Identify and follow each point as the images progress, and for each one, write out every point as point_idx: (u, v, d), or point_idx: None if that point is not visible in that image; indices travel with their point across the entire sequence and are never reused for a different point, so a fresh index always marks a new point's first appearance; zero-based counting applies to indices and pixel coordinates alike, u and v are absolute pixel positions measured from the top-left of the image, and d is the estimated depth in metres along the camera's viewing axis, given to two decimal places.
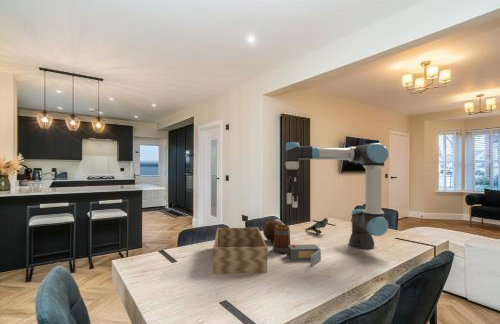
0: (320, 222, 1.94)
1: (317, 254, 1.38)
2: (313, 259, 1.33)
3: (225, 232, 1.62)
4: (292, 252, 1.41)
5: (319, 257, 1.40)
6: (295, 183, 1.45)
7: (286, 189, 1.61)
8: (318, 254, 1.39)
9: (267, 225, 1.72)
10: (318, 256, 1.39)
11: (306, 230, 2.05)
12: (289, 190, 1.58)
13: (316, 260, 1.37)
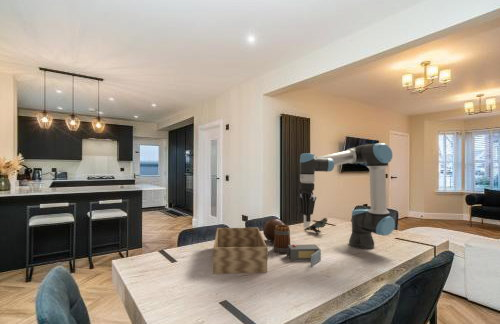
0: (319, 222, 1.95)
1: (317, 254, 1.38)
2: (313, 259, 1.33)
3: (225, 232, 1.62)
4: (292, 252, 1.41)
5: (319, 257, 1.40)
6: (312, 203, 1.34)
7: (301, 210, 1.41)
8: (318, 254, 1.39)
9: (267, 225, 1.72)
10: (318, 256, 1.39)
11: (305, 230, 2.05)
12: None
13: (316, 260, 1.37)
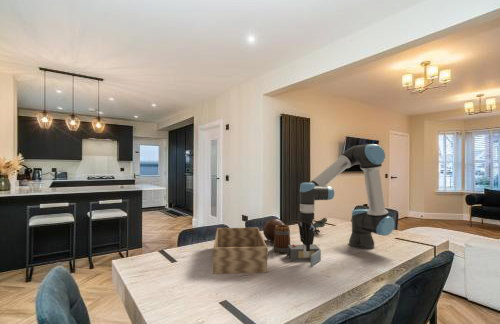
0: (319, 222, 1.95)
1: (317, 254, 1.38)
2: (313, 259, 1.33)
3: (225, 232, 1.62)
4: (292, 252, 1.41)
5: (319, 257, 1.40)
6: (312, 233, 1.34)
7: (301, 239, 1.41)
8: (318, 254, 1.39)
9: (267, 225, 1.72)
10: (318, 256, 1.39)
11: None
12: (305, 239, 1.39)
13: (316, 260, 1.37)
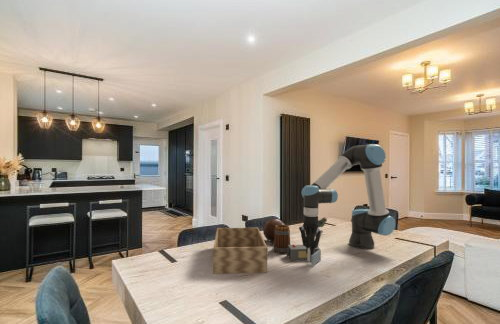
0: (319, 221, 1.96)
1: (317, 254, 1.38)
2: (313, 259, 1.33)
3: (225, 232, 1.62)
4: (292, 252, 1.41)
5: (319, 257, 1.40)
6: (319, 237, 1.33)
7: (303, 243, 1.38)
8: (318, 254, 1.39)
9: (267, 225, 1.72)
10: (318, 256, 1.39)
11: None
12: (309, 243, 1.37)
13: (316, 260, 1.37)
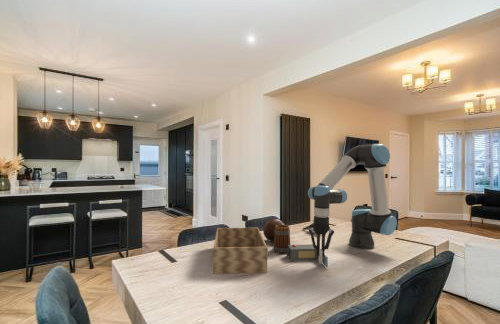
0: None
1: None
2: None
3: (225, 232, 1.62)
4: (292, 252, 1.41)
5: None
6: None
7: (315, 245, 1.33)
8: None
9: (267, 225, 1.72)
10: None
11: (303, 229, 2.07)
12: None
13: None
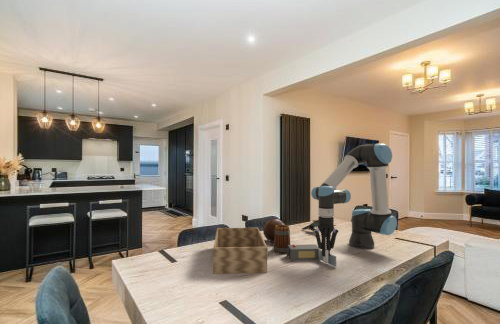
0: None
1: None
2: None
3: (225, 232, 1.62)
4: (292, 252, 1.41)
5: None
6: None
7: (321, 246, 1.33)
8: None
9: (267, 225, 1.72)
10: None
11: None
12: None
13: None
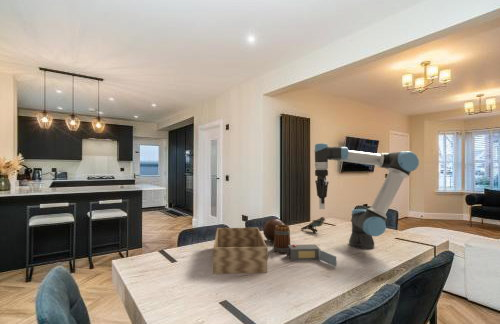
0: (317, 221, 1.98)
1: None
2: None
3: (225, 232, 1.62)
4: (292, 252, 1.41)
5: None
6: (325, 187, 1.52)
7: (317, 193, 1.60)
8: None
9: (267, 225, 1.72)
10: None
11: (302, 229, 2.08)
12: None
13: None
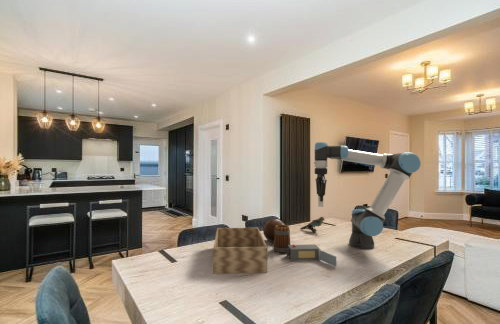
0: (316, 221, 1.99)
1: None
2: None
3: (225, 232, 1.62)
4: (292, 252, 1.41)
5: None
6: (323, 185, 1.54)
7: (317, 191, 1.62)
8: None
9: (267, 225, 1.72)
10: None
11: (301, 229, 2.08)
12: None
13: None
